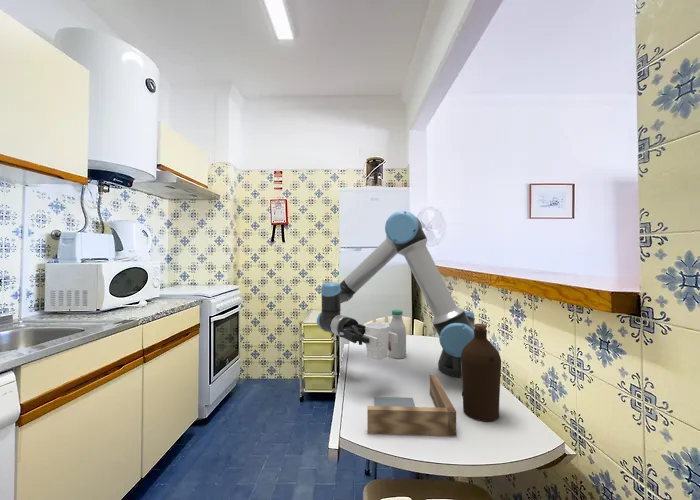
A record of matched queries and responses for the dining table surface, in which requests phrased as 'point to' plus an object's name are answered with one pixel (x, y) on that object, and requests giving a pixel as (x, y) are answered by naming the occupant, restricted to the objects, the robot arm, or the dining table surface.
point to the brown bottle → (481, 377)
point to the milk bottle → (398, 328)
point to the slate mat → (394, 401)
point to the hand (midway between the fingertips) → (387, 340)
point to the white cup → (383, 339)
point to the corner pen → (415, 416)
